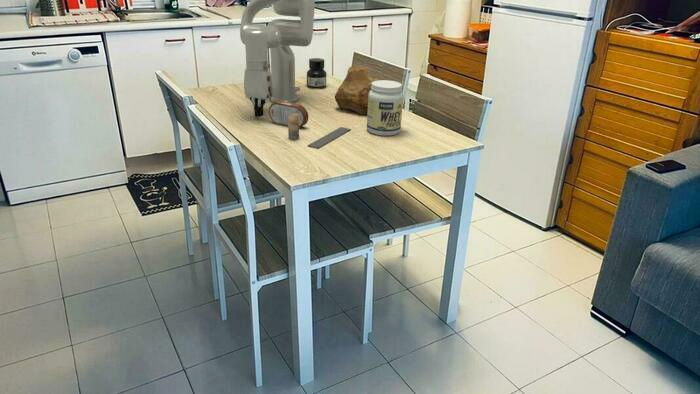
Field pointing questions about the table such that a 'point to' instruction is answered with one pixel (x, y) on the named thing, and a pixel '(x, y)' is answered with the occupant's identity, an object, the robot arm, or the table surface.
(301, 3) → the robot arm
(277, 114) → the tin
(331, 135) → the strip
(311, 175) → the table surface
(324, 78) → the ink bottle
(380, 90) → the supplement tub
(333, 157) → the table surface
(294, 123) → the tan and grey cylinder
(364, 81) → the rough brown rock
